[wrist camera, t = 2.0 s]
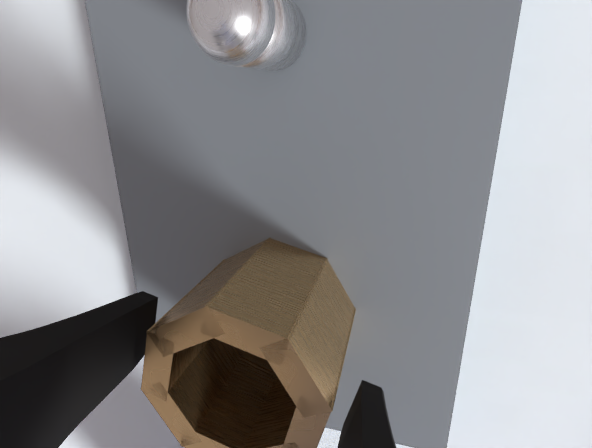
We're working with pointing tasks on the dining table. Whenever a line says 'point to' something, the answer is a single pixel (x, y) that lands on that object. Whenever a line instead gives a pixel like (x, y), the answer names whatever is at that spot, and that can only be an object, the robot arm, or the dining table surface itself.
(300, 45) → the steel pin
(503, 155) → the dining table surface
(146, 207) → the slate block
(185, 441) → the bronze ring
